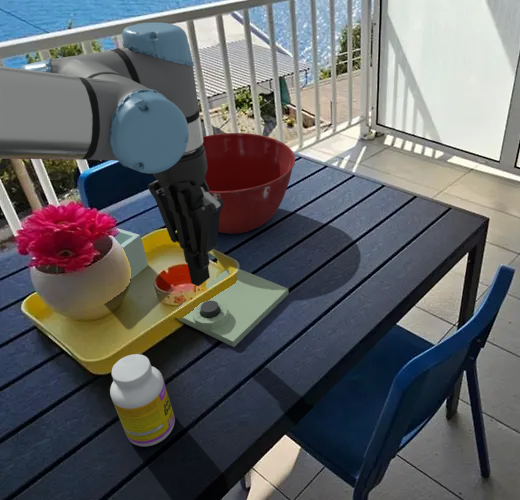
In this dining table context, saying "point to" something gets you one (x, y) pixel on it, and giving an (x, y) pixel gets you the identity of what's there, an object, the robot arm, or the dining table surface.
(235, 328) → the scale
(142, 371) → the supplement bottle
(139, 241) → the right angle wall
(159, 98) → the robot arm
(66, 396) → the dining table surface
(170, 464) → the dining table surface
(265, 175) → the mixing bowl
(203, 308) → the button
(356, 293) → the dining table surface
